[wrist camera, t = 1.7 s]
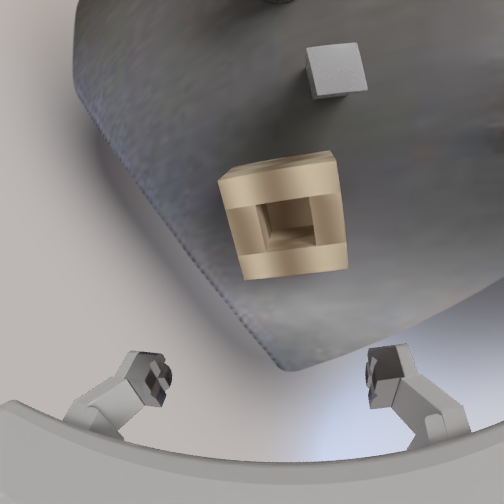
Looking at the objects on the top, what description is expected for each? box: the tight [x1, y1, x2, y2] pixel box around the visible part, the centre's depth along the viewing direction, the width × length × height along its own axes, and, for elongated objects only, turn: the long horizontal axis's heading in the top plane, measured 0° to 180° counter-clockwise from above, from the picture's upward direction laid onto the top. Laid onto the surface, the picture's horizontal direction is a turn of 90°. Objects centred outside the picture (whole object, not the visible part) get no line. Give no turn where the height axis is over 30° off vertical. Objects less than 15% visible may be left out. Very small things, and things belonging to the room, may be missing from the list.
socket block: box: [218, 150, 348, 280], centre depth 28 cm, size 10×10×6 cm
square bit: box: [305, 43, 368, 100], centre depth 20 cm, size 3×3×10 cm
